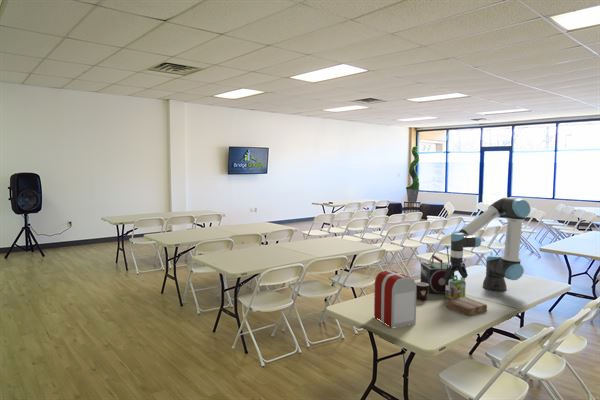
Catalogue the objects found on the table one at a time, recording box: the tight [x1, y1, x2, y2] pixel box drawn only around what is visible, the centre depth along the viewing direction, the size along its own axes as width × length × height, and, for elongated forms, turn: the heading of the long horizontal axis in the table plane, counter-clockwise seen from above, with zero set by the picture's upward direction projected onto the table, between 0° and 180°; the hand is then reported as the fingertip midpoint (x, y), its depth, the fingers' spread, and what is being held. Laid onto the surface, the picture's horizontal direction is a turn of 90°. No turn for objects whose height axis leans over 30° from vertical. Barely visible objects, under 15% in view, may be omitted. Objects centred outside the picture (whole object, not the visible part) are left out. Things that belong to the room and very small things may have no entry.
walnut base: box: [445, 296, 488, 317], centre depth 238 cm, size 16×16×4 cm
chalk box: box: [444, 274, 467, 300], centre depth 258 cm, size 9×9×15 cm
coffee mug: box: [415, 281, 429, 302], centre depth 256 cm, size 12×9×10 cm
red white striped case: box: [373, 269, 417, 329], centre depth 220 cm, size 16×18×27 cm
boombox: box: [419, 245, 455, 295], centre depth 274 cm, size 18×21×30 cm
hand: (454, 288), depth 258 cm, fingers open, 13 cm apart
